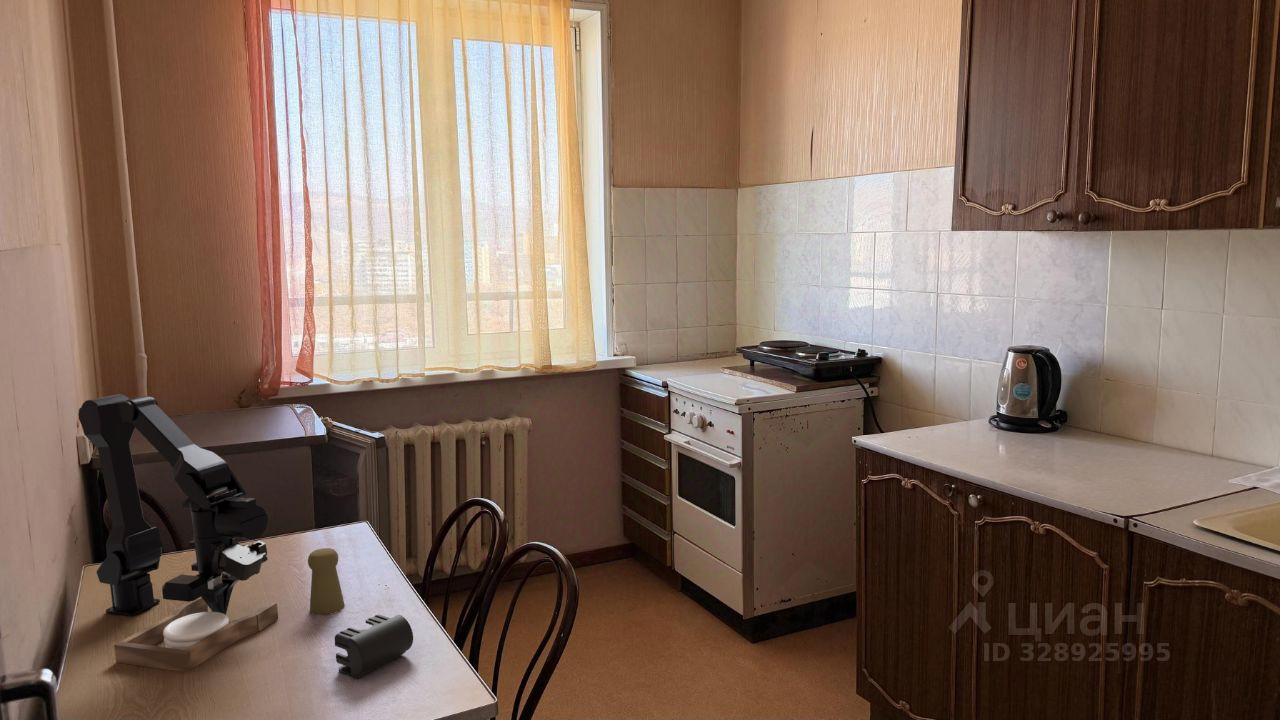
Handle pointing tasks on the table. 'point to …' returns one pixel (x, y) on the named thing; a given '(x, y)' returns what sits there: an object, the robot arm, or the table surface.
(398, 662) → the table surface
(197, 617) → the coaster
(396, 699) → the table surface
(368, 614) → the table surface
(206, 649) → the wooden u-shaped frame
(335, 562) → the cork
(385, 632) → the end cap
